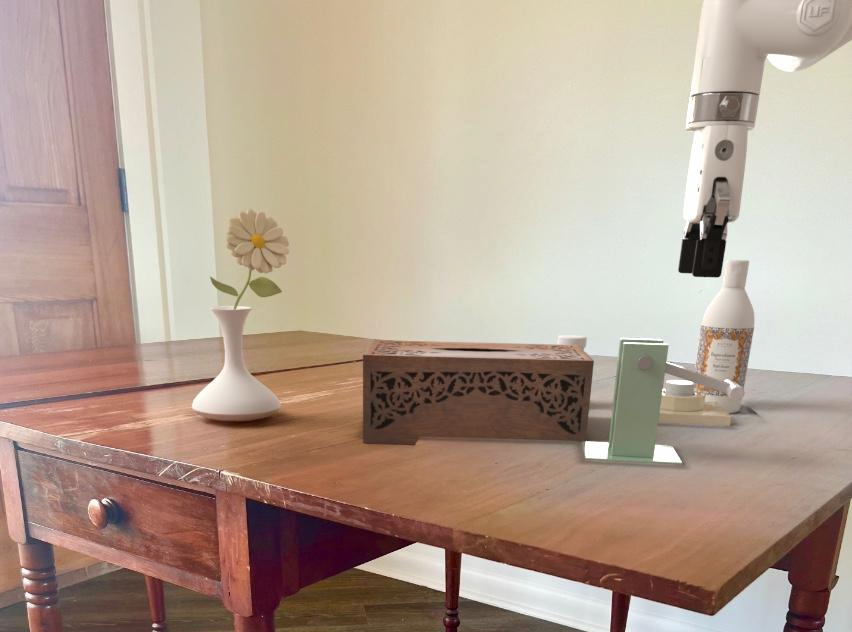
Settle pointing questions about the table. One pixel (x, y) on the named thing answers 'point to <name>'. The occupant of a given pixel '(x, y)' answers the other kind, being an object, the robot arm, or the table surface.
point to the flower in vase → (235, 386)
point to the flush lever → (707, 381)
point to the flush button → (679, 387)
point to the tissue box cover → (475, 391)
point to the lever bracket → (636, 407)
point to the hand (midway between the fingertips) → (698, 275)
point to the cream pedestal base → (692, 410)
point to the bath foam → (726, 335)
